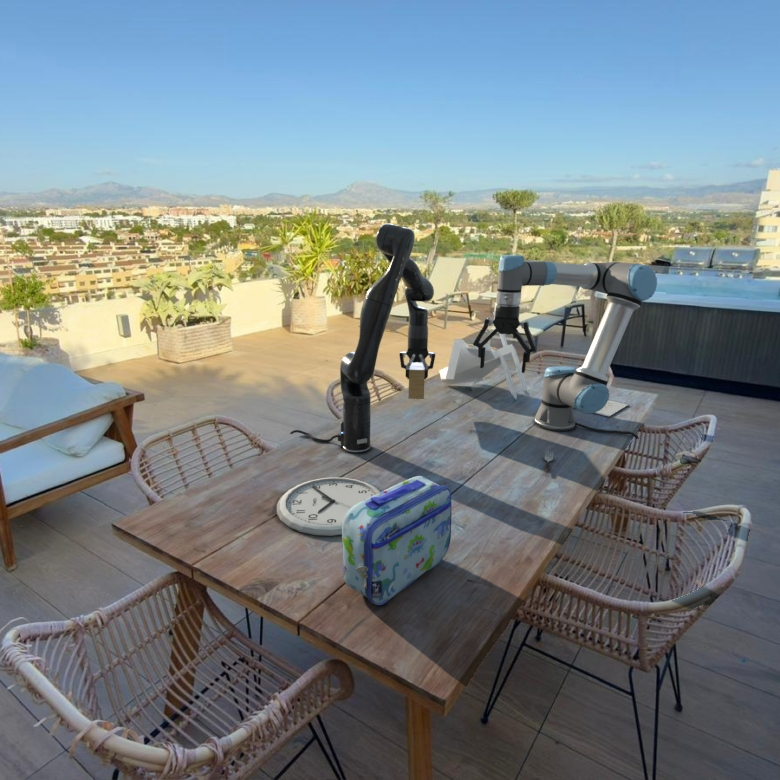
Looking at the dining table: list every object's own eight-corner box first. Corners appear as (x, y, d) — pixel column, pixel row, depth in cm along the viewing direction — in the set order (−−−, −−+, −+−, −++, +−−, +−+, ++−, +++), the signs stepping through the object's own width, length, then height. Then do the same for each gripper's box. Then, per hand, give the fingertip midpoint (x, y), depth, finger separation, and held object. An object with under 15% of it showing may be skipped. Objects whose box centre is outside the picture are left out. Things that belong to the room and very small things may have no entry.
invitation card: (608, 416, 214) (573, 407, 224) (608, 416, 214) (573, 408, 224) (628, 404, 229) (594, 396, 238) (628, 405, 229) (594, 397, 238)
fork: (541, 474, 162) (542, 468, 162) (545, 454, 177) (545, 449, 176) (550, 476, 162) (550, 470, 161) (553, 456, 176) (553, 450, 175)
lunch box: (371, 618, 102) (371, 524, 95) (336, 591, 109) (334, 502, 103) (455, 562, 119) (460, 479, 113) (420, 542, 126) (423, 463, 120)
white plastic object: (461, 429, 252) (437, 405, 227) (444, 352, 274) (420, 323, 250) (535, 404, 240) (518, 377, 215) (510, 326, 262) (492, 293, 237)
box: (409, 379, 226) (410, 353, 223) (423, 379, 226) (423, 353, 223) (408, 398, 201) (409, 369, 198) (423, 399, 201) (424, 370, 197)
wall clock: (392, 527, 129) (268, 531, 127) (391, 533, 130) (269, 537, 127) (383, 473, 158) (282, 475, 155) (383, 478, 158) (282, 480, 156)
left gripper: (398, 337, 194) (397, 381, 199) (437, 338, 193) (435, 382, 198) (399, 333, 201) (398, 375, 206) (436, 334, 200) (435, 376, 205)
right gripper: (466, 303, 168) (462, 367, 174) (547, 309, 159) (539, 376, 165) (472, 301, 174) (468, 362, 181) (549, 306, 166) (542, 370, 172)
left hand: (416, 378), depth 202 cm, fingers closed on box, 6 cm apart
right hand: (502, 369), depth 173 cm, fingers open, 13 cm apart
